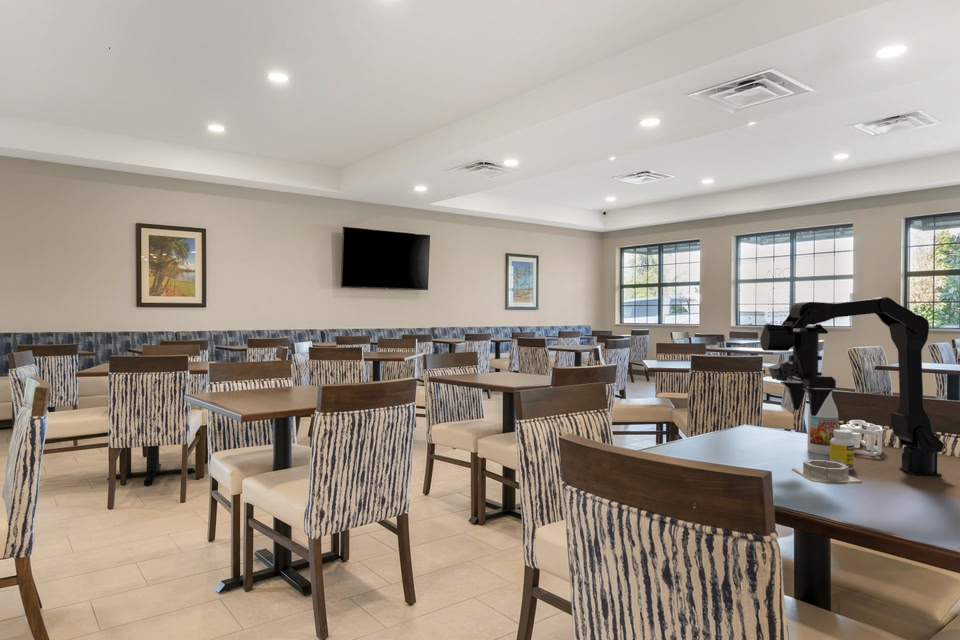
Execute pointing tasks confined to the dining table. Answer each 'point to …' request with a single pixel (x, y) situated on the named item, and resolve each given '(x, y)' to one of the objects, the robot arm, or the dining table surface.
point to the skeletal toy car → (870, 445)
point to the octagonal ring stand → (826, 471)
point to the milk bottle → (822, 427)
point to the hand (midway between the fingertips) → (804, 412)
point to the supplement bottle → (842, 448)
